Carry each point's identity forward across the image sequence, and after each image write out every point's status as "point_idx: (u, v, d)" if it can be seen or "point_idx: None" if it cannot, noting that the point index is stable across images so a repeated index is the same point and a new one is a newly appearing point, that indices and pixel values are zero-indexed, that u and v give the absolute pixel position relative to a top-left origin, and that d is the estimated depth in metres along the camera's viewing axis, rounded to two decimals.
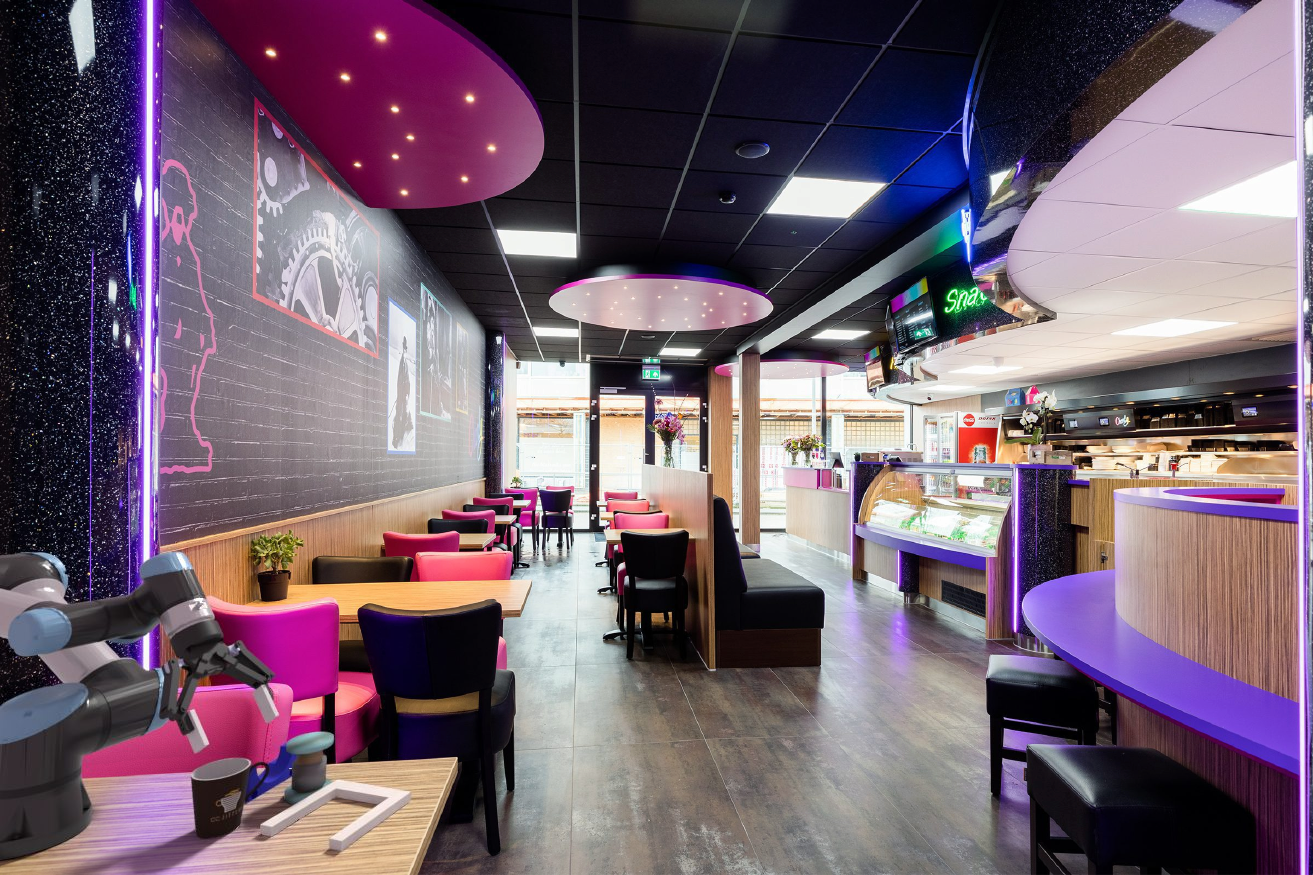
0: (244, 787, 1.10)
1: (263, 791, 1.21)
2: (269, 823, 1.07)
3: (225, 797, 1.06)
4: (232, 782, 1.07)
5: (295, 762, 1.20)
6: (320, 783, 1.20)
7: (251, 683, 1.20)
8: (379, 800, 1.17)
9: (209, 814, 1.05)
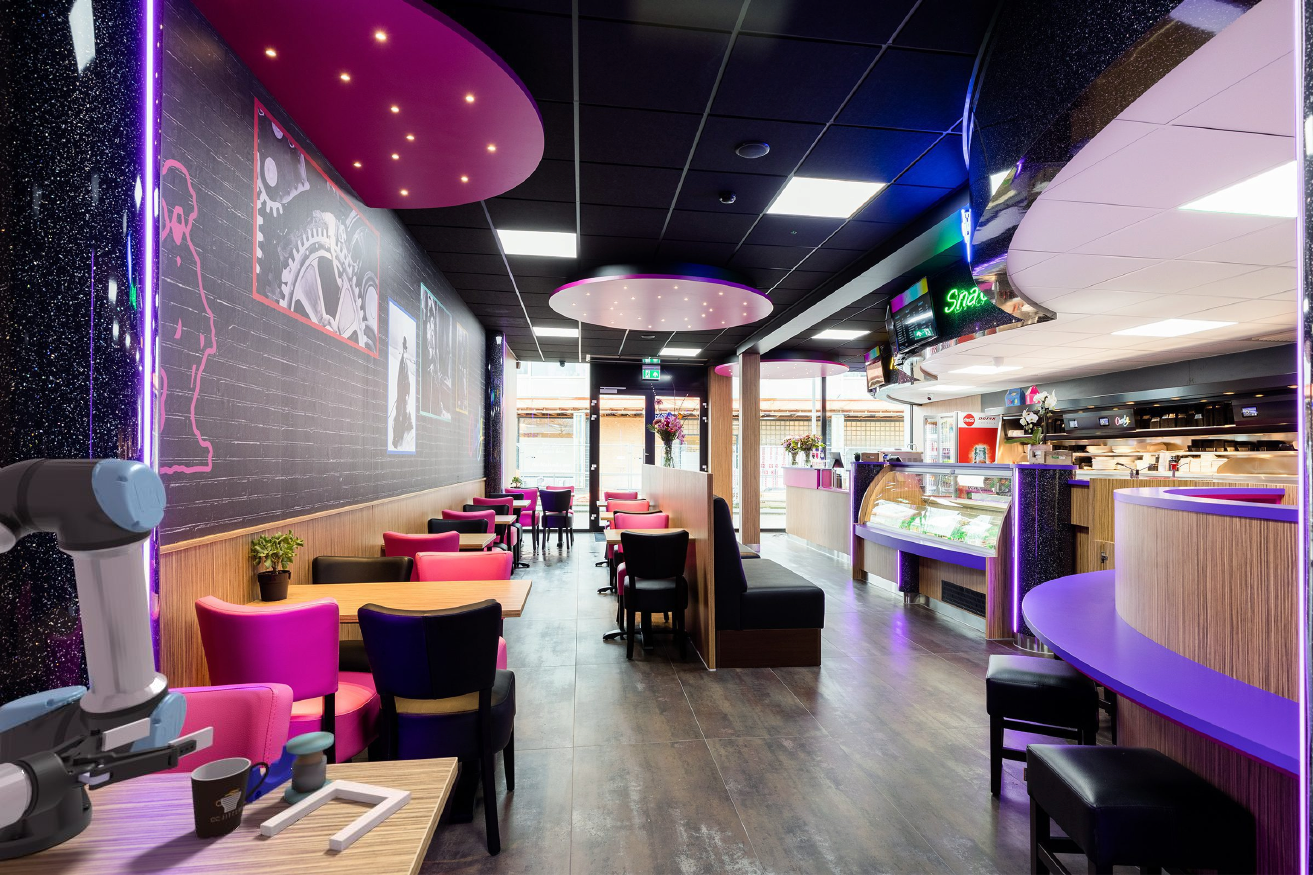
0: (244, 787, 1.10)
1: (266, 791, 1.21)
2: (269, 823, 1.07)
3: (225, 797, 1.06)
4: (232, 782, 1.07)
5: (295, 762, 1.20)
6: (320, 783, 1.20)
7: None
8: (379, 800, 1.17)
9: (209, 814, 1.05)
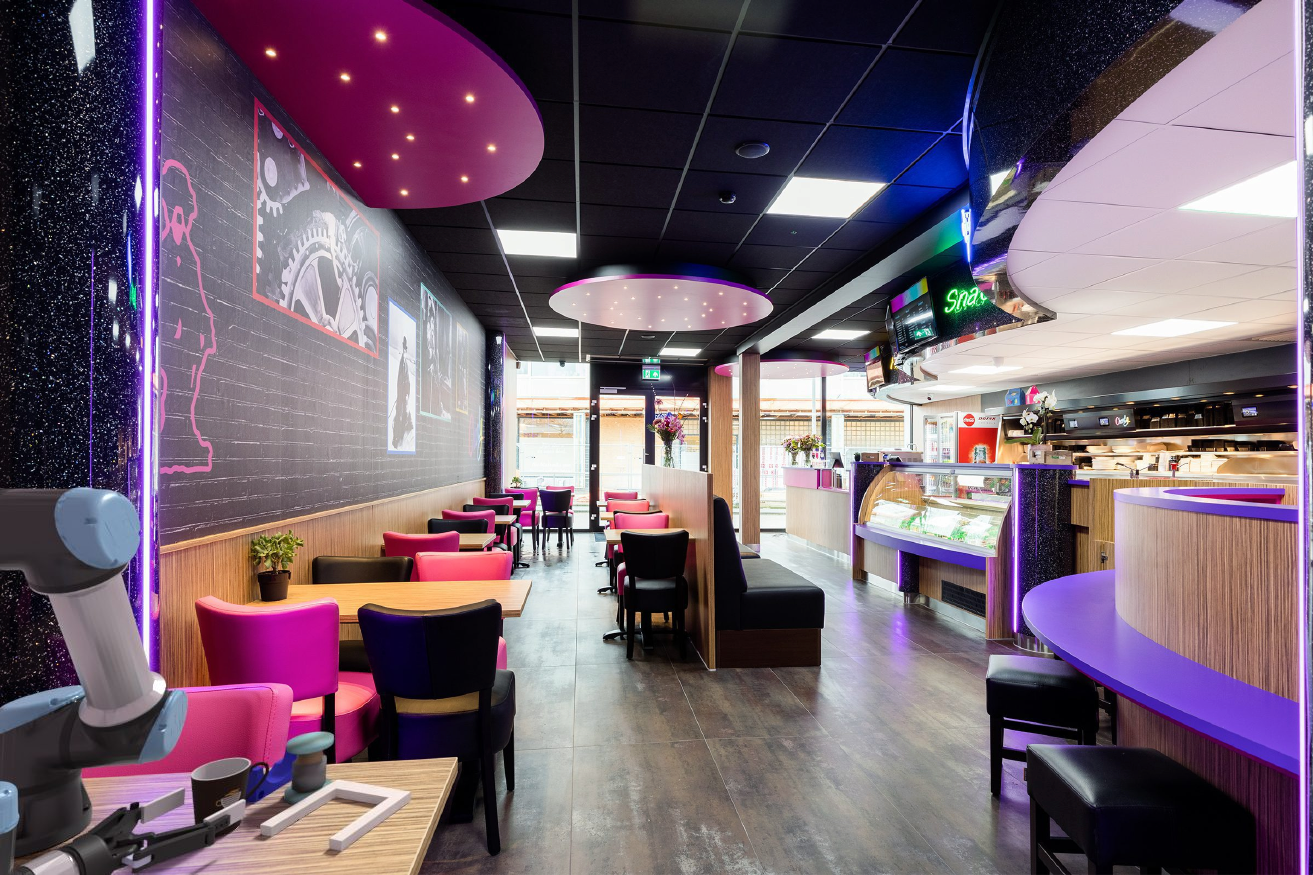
0: (244, 787, 1.10)
1: (269, 791, 1.21)
2: (269, 823, 1.07)
3: (225, 797, 1.06)
4: (232, 782, 1.07)
5: (295, 762, 1.20)
6: (320, 783, 1.20)
7: None
8: (379, 800, 1.17)
9: (209, 814, 1.05)
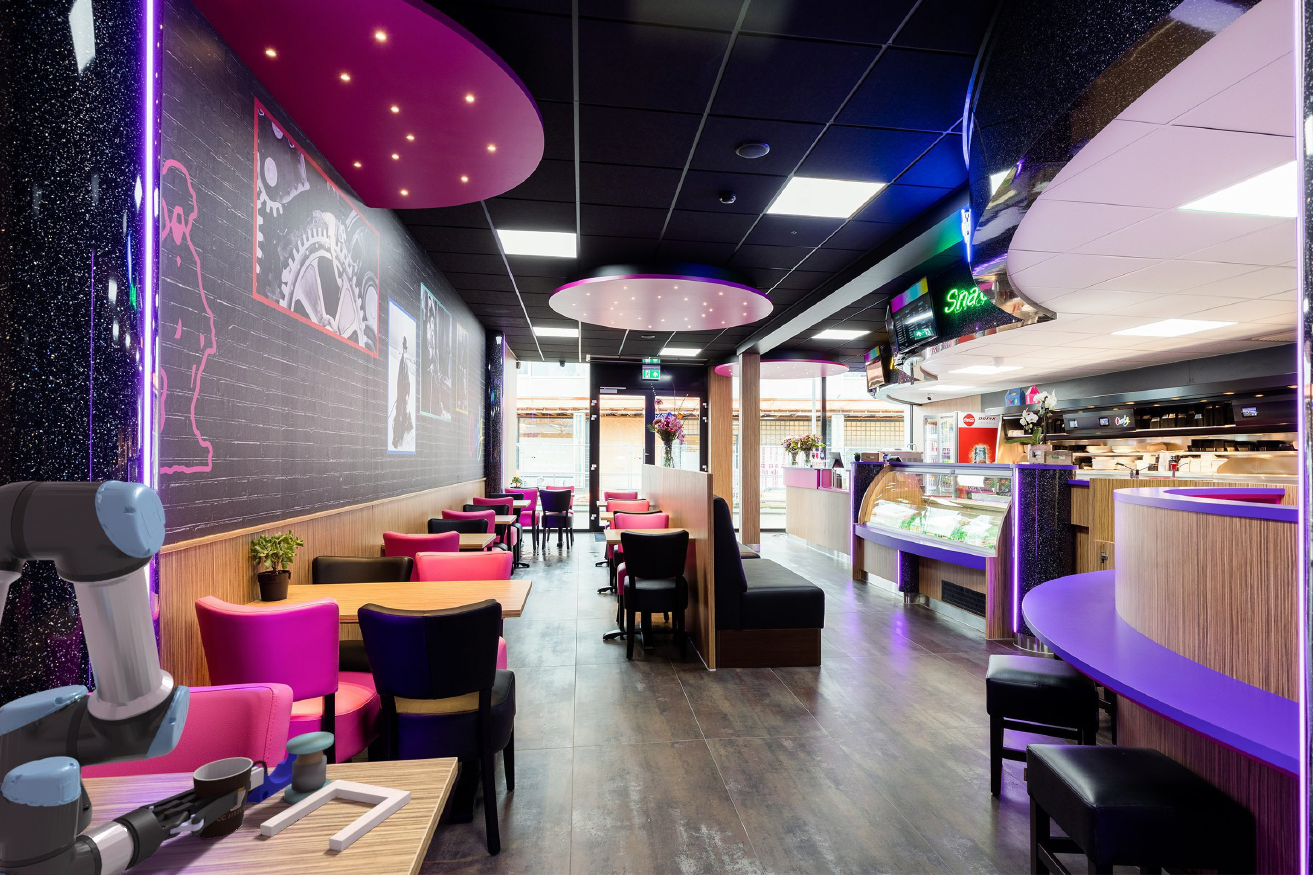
0: (248, 785, 1.10)
1: (273, 792, 1.21)
2: (269, 823, 1.07)
3: None
4: (238, 780, 1.08)
5: (295, 762, 1.20)
6: (320, 783, 1.20)
7: None
8: (379, 800, 1.17)
9: None
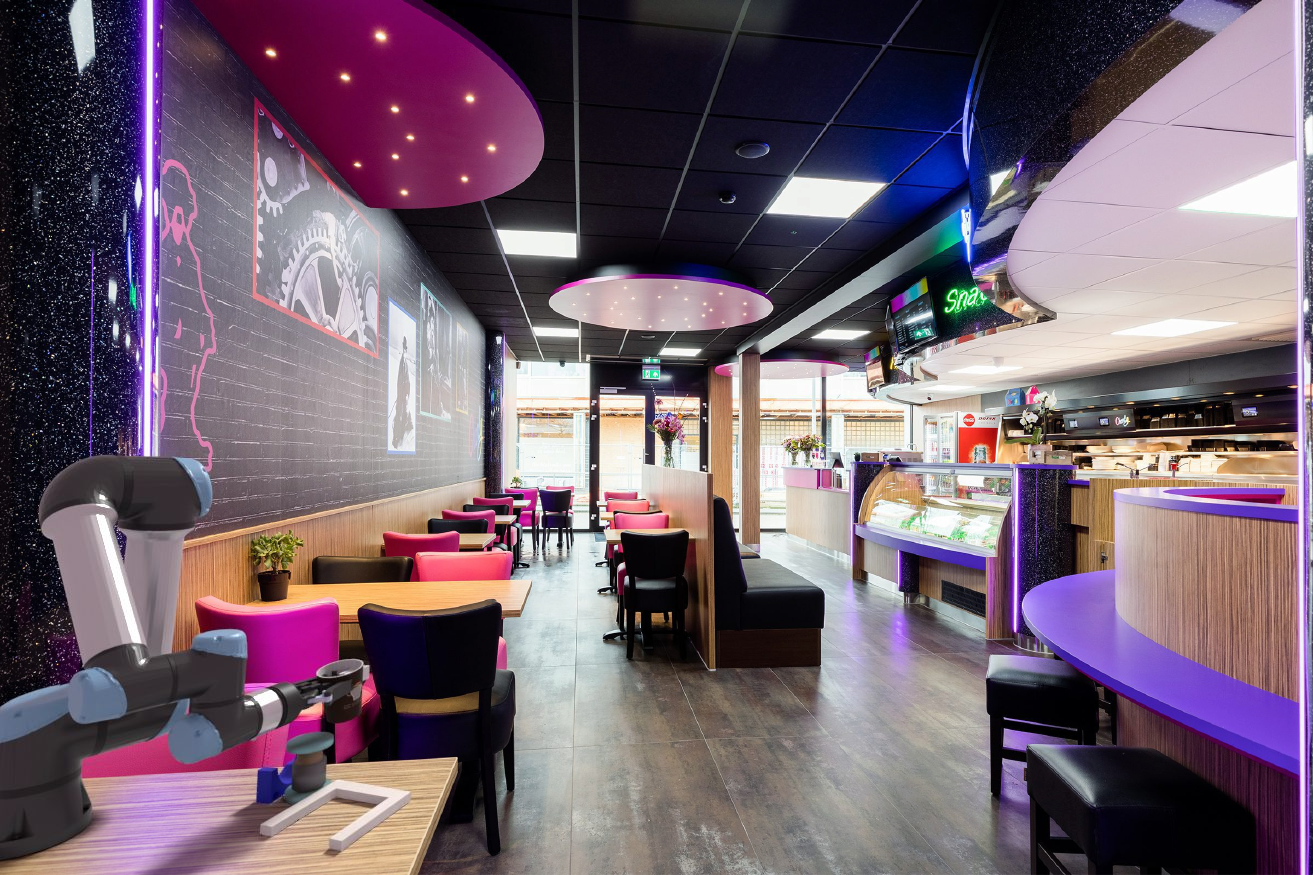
0: (362, 680, 1.30)
1: (283, 792, 1.20)
2: (269, 823, 1.07)
3: (353, 688, 1.27)
4: (356, 676, 1.27)
5: (295, 762, 1.20)
6: (320, 783, 1.20)
7: None
8: (379, 800, 1.17)
9: (342, 703, 1.26)
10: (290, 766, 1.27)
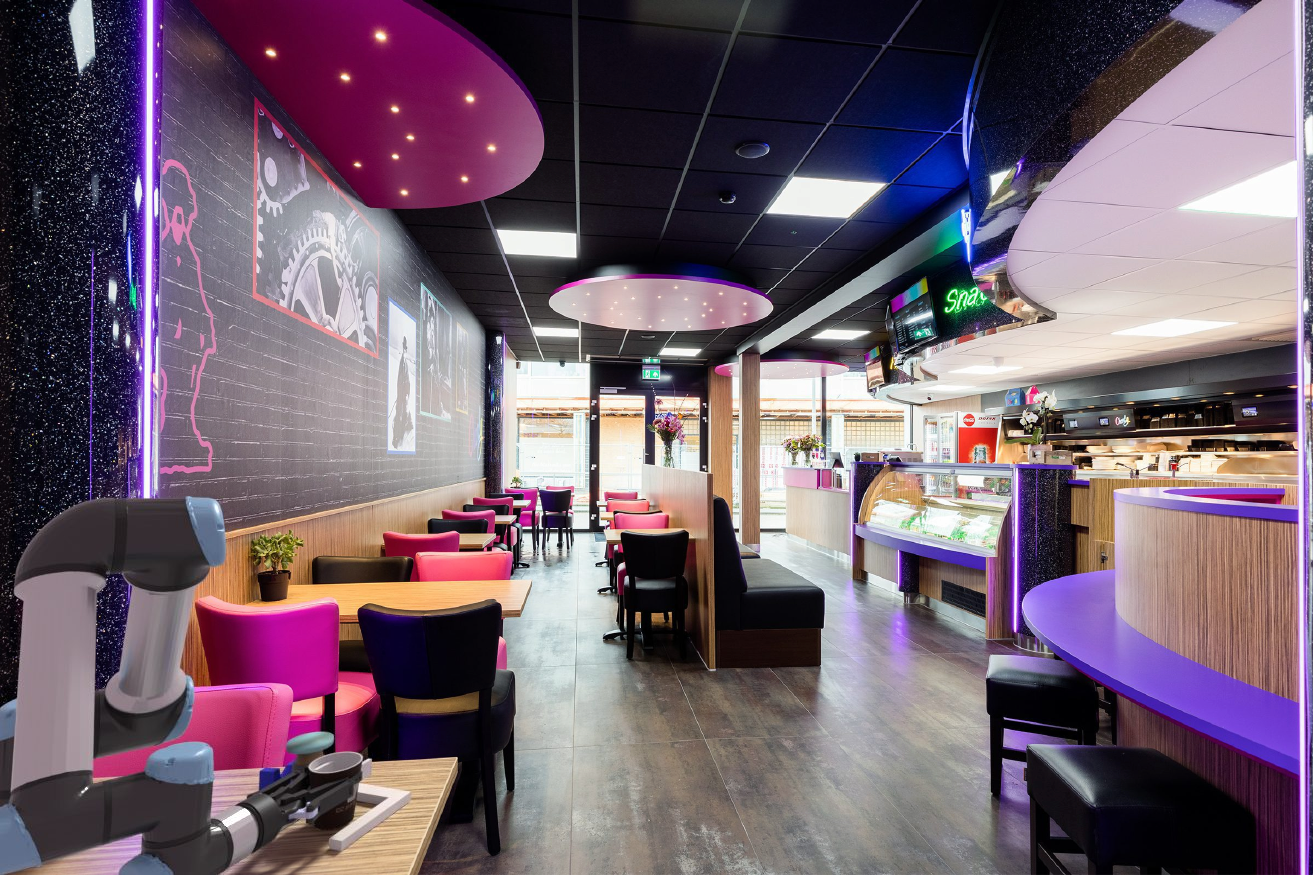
0: None
1: None
2: None
3: None
4: (354, 772, 1.11)
5: (295, 762, 1.20)
6: None
7: None
8: (379, 800, 1.17)
9: None
10: (291, 767, 1.27)
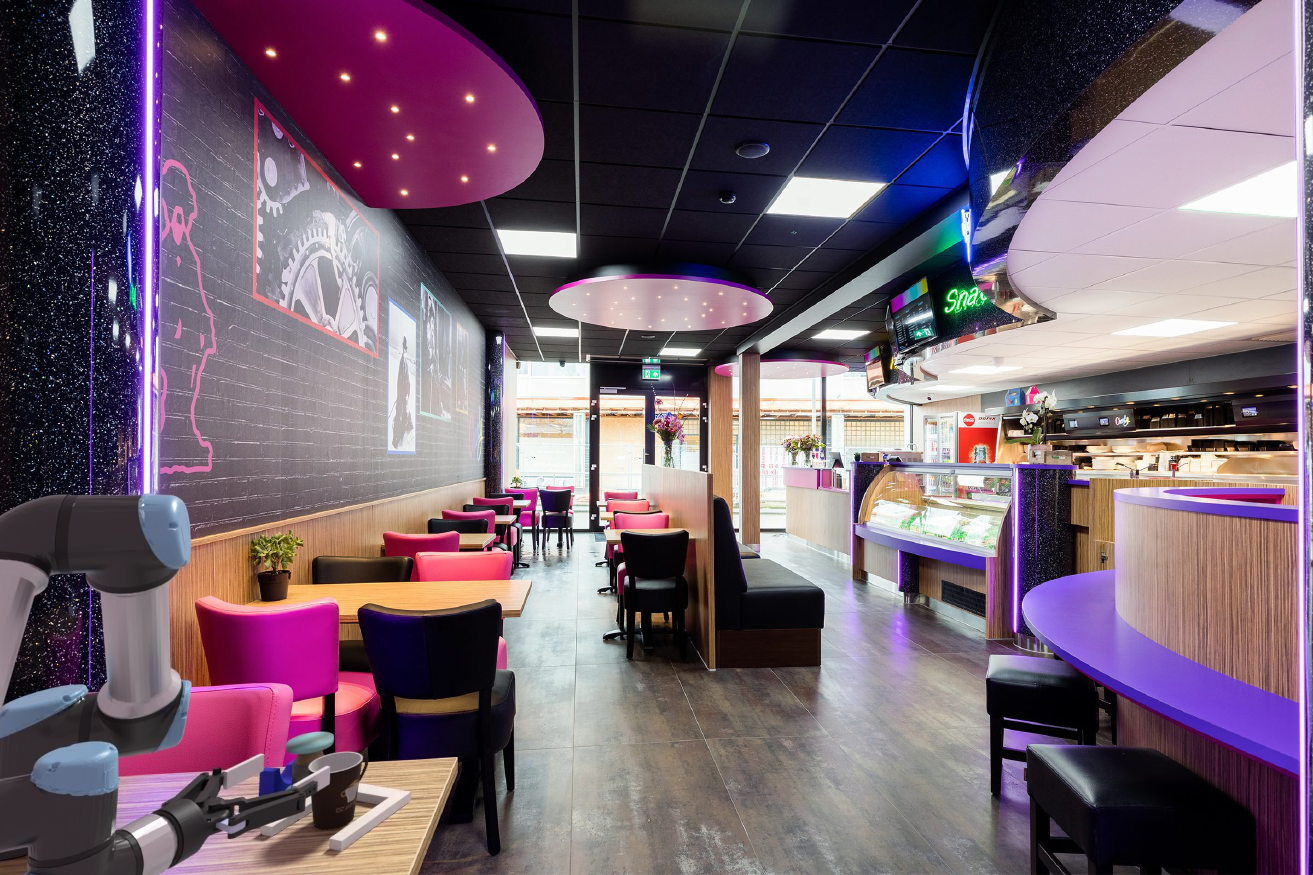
0: (359, 777, 1.13)
1: None
2: None
3: (349, 787, 1.10)
4: (354, 772, 1.11)
5: (295, 762, 1.20)
6: None
7: None
8: (379, 800, 1.17)
9: (334, 805, 1.08)
10: (291, 766, 1.27)
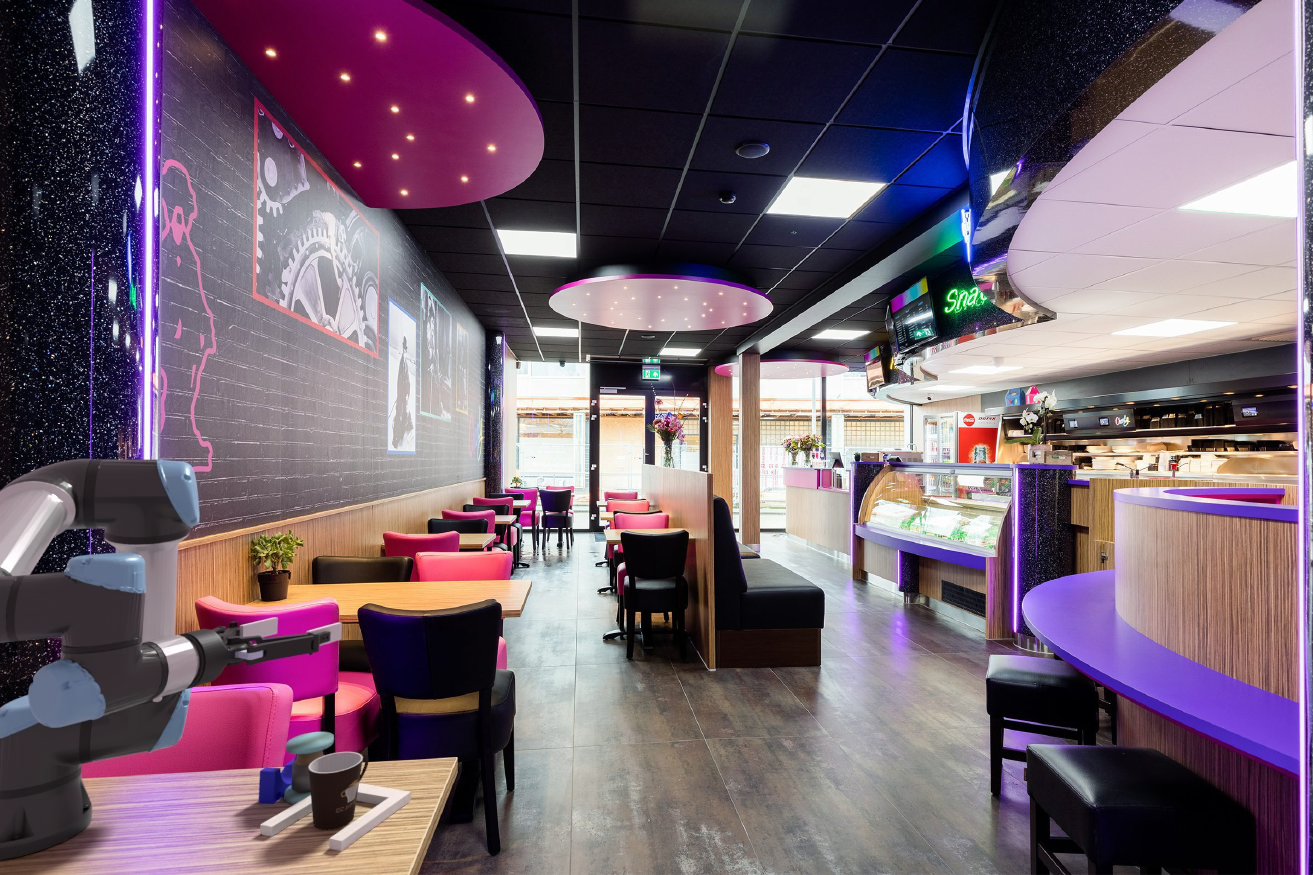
0: (359, 777, 1.13)
1: None
2: (269, 823, 1.07)
3: (349, 787, 1.10)
4: (354, 772, 1.11)
5: (295, 762, 1.20)
6: None
7: None
8: (379, 800, 1.17)
9: (334, 806, 1.08)
10: (290, 766, 1.27)
